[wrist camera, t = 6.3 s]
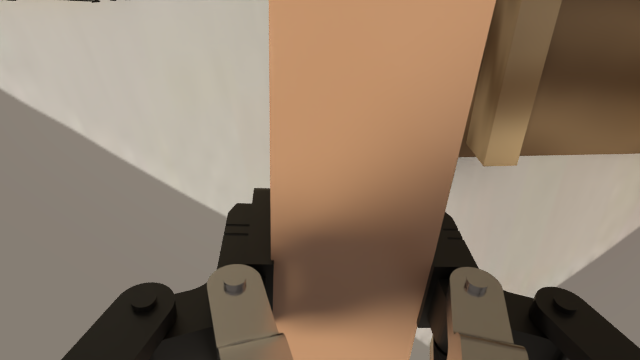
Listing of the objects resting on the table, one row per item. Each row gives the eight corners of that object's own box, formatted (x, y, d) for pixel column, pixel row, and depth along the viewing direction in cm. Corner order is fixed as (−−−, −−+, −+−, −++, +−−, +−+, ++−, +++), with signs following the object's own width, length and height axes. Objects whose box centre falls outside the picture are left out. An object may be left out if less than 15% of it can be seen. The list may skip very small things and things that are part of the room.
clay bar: (275, -75, 11) (268, -64, 7) (434, -65, 11) (508, -51, 7) (275, 349, 19) (272, 459, 15) (367, 348, 20) (385, 455, 16)
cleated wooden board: (448, -51, 24) (478, -44, 20) (776, -48, 25) (864, -41, 21) (419, 147, 30) (439, 181, 27) (684, 142, 31) (739, 174, 28)
